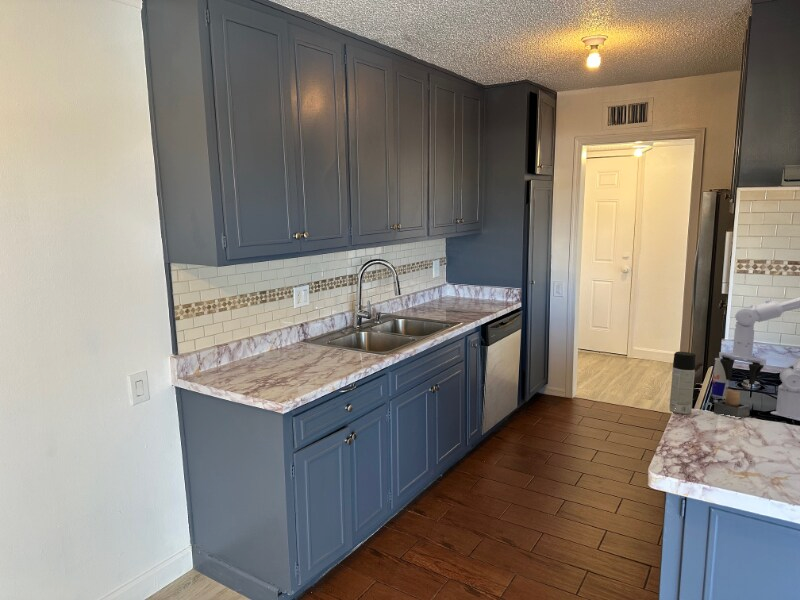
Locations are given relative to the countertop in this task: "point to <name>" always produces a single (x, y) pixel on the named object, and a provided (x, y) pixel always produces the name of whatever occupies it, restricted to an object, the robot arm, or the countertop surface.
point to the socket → (731, 409)
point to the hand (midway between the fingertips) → (739, 381)
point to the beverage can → (719, 381)
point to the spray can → (682, 382)
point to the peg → (732, 398)
